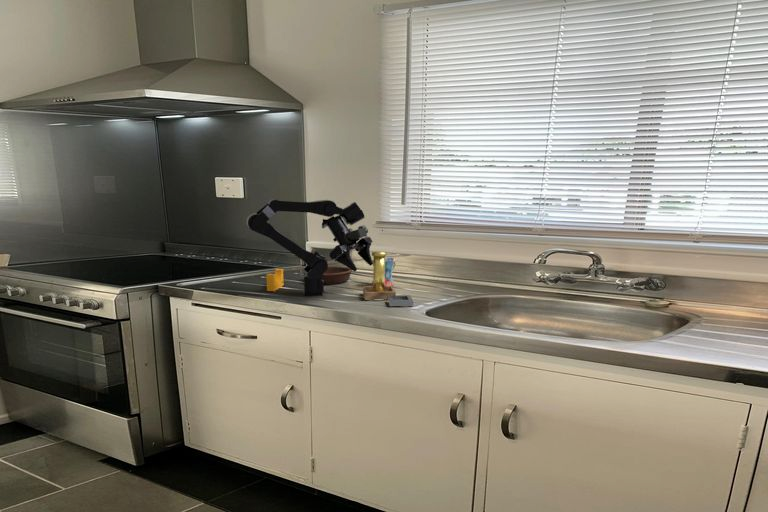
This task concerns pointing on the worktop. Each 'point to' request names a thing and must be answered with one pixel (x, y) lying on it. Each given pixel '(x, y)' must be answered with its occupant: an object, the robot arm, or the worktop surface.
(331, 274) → the dish
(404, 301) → the block
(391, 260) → the mug
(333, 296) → the worktop surface
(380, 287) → the pin
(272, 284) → the pipe clamp
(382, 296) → the tray
